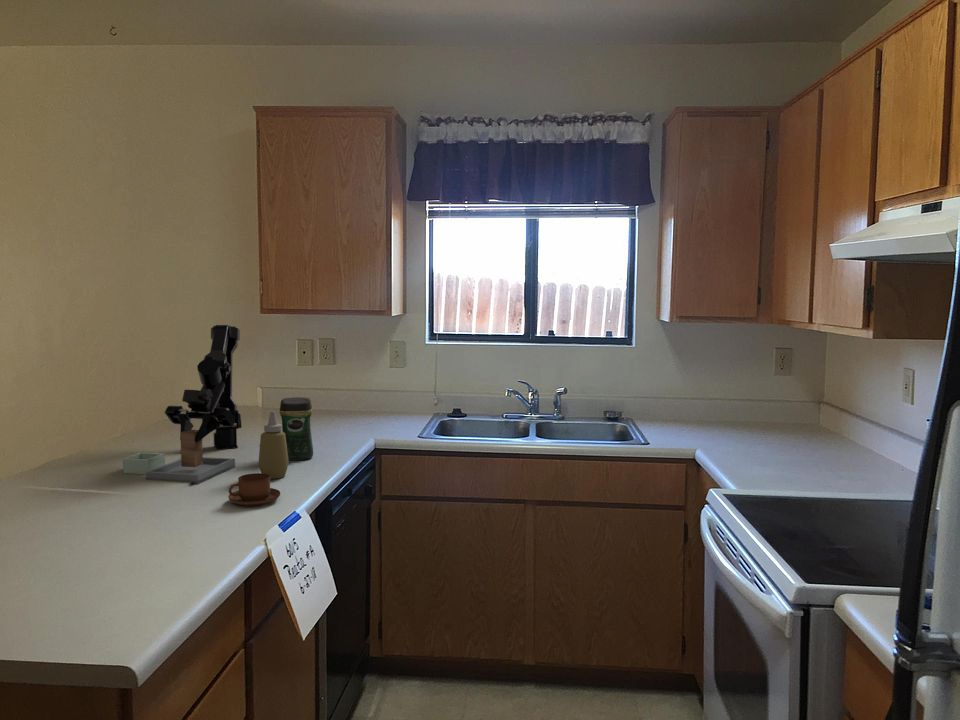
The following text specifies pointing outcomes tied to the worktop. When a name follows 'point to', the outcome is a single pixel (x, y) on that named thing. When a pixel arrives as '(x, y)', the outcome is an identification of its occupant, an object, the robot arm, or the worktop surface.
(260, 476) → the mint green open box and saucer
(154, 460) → the mint green open box
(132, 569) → the worktop surface
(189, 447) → the square block
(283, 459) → the squeeze bottle
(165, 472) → the tray
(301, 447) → the coffee jar
